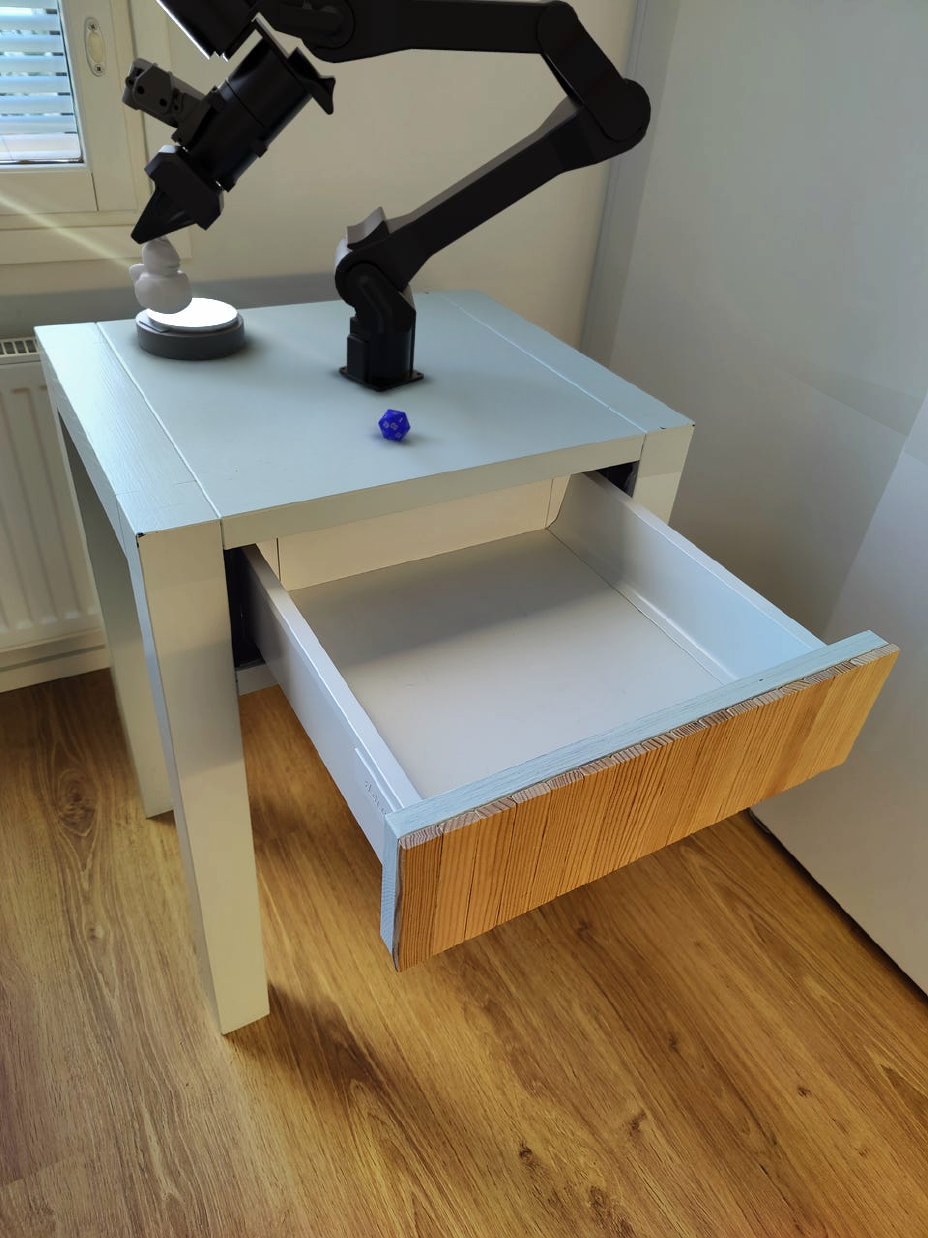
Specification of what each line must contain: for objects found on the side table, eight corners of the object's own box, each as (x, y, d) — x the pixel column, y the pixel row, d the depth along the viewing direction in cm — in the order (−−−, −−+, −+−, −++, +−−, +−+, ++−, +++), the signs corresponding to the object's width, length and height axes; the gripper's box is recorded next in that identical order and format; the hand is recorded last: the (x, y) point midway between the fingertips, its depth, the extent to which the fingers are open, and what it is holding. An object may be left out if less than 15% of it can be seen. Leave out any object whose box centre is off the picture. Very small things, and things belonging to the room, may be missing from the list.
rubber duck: (171, 326, 81) (158, 235, 76) (117, 311, 83) (101, 222, 78) (209, 310, 85) (199, 223, 80) (156, 296, 87) (143, 210, 82)
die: (383, 430, 80) (404, 406, 79) (400, 449, 79) (421, 425, 78) (367, 425, 78) (388, 399, 77) (384, 444, 77) (405, 419, 76)
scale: (206, 317, 100) (204, 290, 98) (265, 346, 94) (264, 317, 92) (118, 335, 93) (113, 306, 91) (176, 367, 87) (173, 337, 85)
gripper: (189, 15, 77) (82, 145, 82) (157, 29, 63) (29, 186, 68) (283, 122, 83) (177, 237, 88) (274, 157, 69) (148, 294, 74)
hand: (136, 237), depth 79 cm, fingers closed on rubber duck
